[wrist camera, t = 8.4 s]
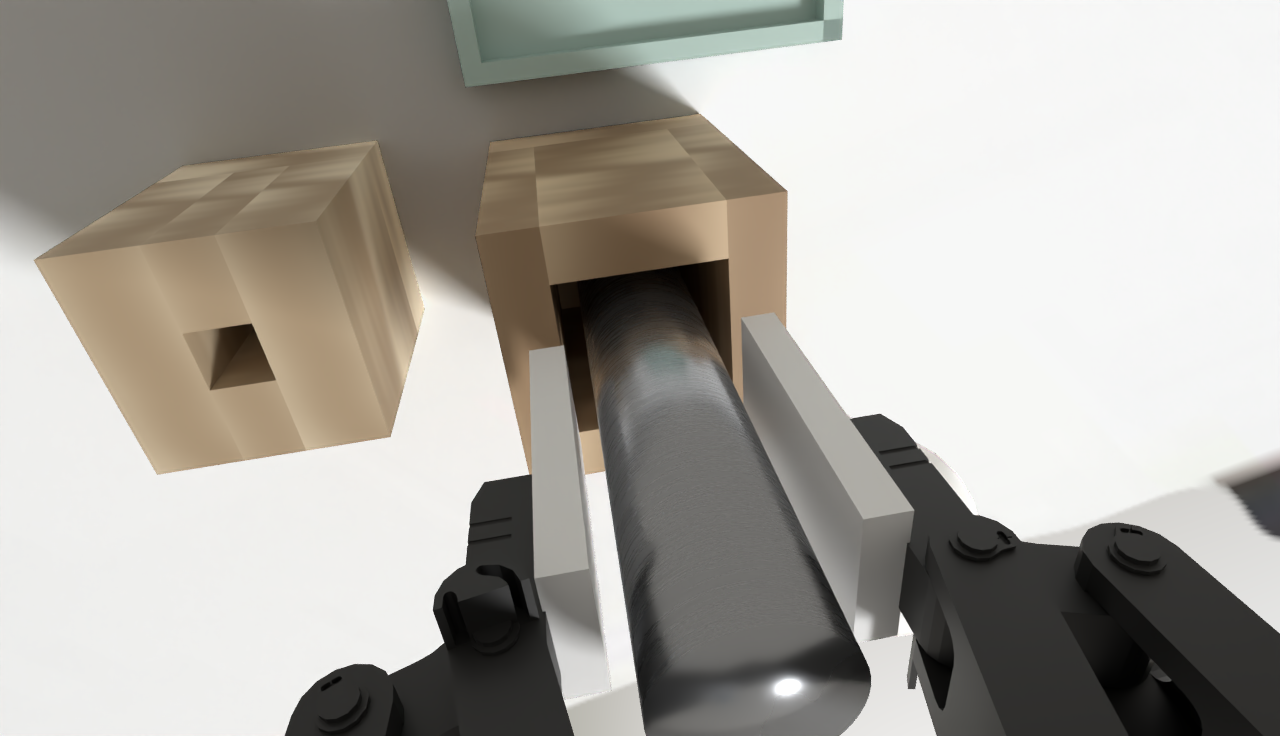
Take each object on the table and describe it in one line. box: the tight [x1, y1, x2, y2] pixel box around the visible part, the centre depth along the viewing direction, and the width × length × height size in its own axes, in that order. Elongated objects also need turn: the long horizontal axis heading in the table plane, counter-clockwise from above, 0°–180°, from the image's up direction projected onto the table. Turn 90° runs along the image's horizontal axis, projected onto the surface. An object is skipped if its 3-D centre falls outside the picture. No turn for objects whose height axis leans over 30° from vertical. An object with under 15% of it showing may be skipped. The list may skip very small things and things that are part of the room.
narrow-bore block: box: [34, 140, 425, 475], centre depth 21 cm, size 6×6×8 cm
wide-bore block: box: [475, 114, 787, 475], centre depth 21 cm, size 7×7×9 cm
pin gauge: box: [577, 266, 871, 736], centre depth 16 cm, size 3×3×15 cm
